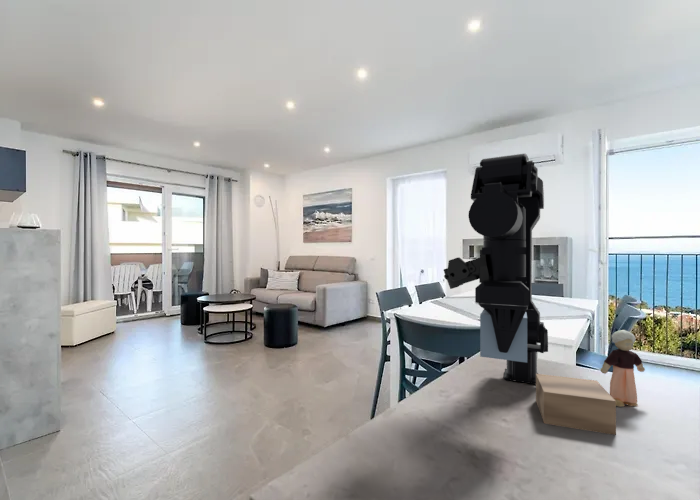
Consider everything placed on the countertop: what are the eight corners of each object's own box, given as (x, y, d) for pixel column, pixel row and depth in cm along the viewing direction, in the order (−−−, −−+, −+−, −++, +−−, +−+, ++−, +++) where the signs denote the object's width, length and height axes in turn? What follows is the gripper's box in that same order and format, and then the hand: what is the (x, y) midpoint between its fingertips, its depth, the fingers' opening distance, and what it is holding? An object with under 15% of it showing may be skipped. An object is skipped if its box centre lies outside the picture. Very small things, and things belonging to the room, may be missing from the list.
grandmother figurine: (619, 410, 57) (618, 333, 58) (597, 401, 61) (596, 328, 61) (653, 405, 59) (652, 331, 60) (629, 396, 63) (629, 326, 63)
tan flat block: (536, 402, 61) (535, 373, 61) (597, 411, 58) (596, 380, 58) (544, 425, 53) (544, 391, 53) (616, 436, 49) (615, 401, 49)
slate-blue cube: (483, 347, 55) (483, 309, 55) (526, 351, 52) (526, 311, 52) (480, 356, 50) (480, 314, 50) (527, 362, 47) (527, 318, 47)
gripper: (457, 243, 63) (457, 329, 63) (435, 238, 46) (435, 355, 46) (526, 243, 58) (526, 336, 58) (529, 237, 42) (529, 368, 41)
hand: (504, 347), depth 51 cm, fingers closed on slate-blue cube, 6 cm apart
